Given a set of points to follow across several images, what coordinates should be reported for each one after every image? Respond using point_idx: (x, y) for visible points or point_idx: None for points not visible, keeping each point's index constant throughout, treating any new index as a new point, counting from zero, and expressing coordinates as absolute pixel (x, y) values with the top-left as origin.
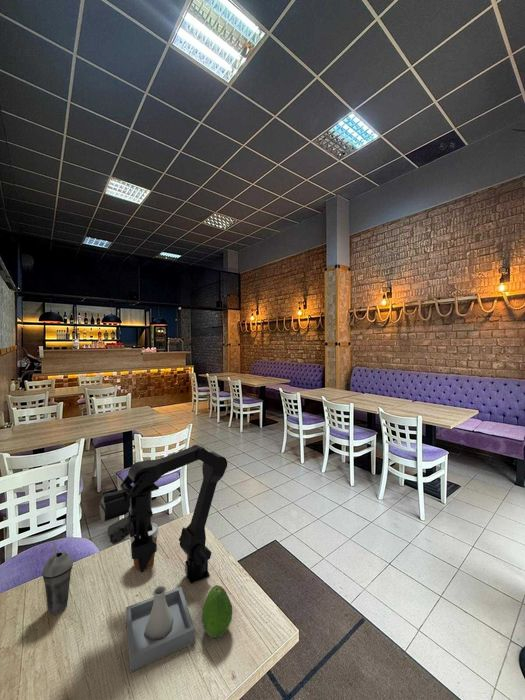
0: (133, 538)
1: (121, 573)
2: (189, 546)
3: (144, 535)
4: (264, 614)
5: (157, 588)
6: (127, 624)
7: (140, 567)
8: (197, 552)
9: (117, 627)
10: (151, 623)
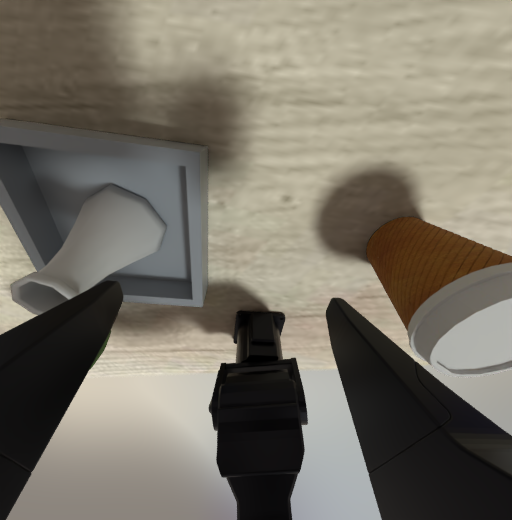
0: (507, 286)
1: (424, 173)
2: (218, 425)
3: (365, 436)
4: (106, 367)
5: (68, 294)
6: (129, 141)
7: (55, 312)
8: (211, 407)
9: (190, 111)
10: (84, 215)
